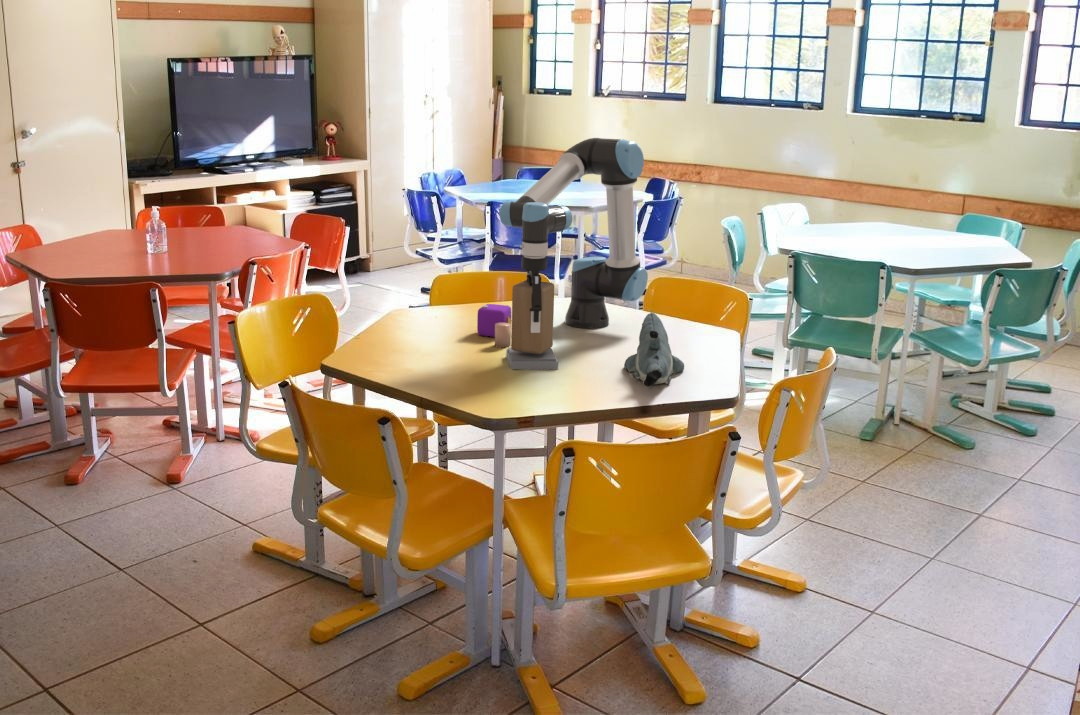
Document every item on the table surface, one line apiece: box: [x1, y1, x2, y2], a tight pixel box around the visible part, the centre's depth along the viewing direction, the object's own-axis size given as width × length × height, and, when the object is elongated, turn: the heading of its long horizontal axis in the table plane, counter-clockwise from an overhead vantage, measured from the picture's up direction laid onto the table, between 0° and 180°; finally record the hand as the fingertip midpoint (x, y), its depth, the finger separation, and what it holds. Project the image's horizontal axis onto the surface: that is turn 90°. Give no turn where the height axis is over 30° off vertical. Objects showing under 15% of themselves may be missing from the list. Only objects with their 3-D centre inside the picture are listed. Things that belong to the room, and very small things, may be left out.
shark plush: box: [623, 312, 685, 387], centre depth 299 cm, size 18×39×16 cm, turn 163°
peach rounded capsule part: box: [494, 323, 512, 348], centre depth 333 cm, size 5×5×7 cm
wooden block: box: [510, 279, 555, 354], centre depth 312 cm, size 10×10×20 cm
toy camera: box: [476, 303, 512, 338], centre depth 348 cm, size 11×14×10 cm
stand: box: [505, 347, 559, 370], centre depth 316 cm, size 14×14×3 cm
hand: (532, 326), depth 313 cm, fingers closed on wooden block, 13 cm apart
